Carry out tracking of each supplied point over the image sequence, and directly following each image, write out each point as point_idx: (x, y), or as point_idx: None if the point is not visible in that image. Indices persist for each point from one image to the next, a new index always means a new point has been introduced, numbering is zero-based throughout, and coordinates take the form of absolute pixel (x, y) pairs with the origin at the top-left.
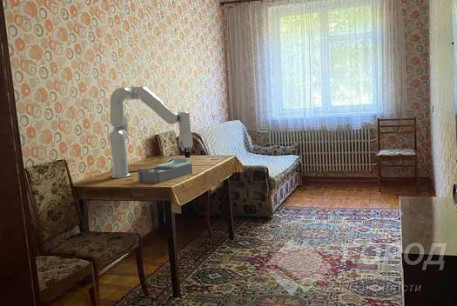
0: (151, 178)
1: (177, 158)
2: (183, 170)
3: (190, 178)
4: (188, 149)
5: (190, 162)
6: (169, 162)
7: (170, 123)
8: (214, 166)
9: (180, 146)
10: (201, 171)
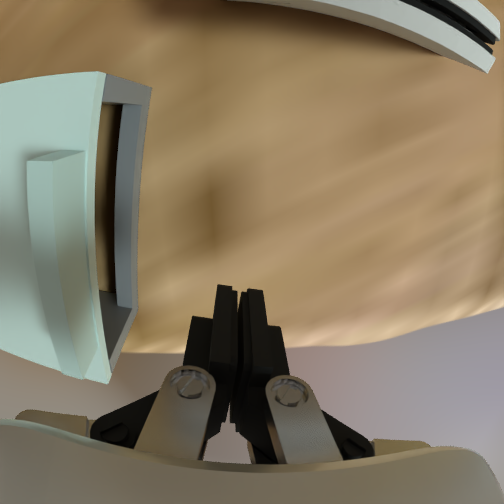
0: None
1: (32, 238)
2: None
3: None
4: (270, 453)
5: (91, 379)
6: (27, 98)
7: None
8: (452, 318)
9: (42, 460)
10: None
